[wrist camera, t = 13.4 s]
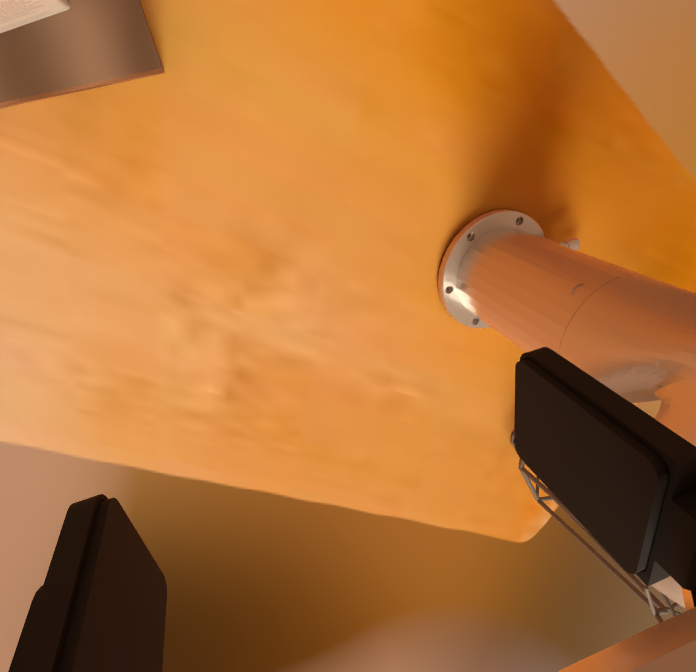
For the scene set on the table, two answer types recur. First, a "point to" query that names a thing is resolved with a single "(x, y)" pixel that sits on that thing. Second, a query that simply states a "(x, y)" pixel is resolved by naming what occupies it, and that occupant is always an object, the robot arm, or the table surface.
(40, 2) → the small box
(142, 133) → the table surface
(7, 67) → the walnut plinth
